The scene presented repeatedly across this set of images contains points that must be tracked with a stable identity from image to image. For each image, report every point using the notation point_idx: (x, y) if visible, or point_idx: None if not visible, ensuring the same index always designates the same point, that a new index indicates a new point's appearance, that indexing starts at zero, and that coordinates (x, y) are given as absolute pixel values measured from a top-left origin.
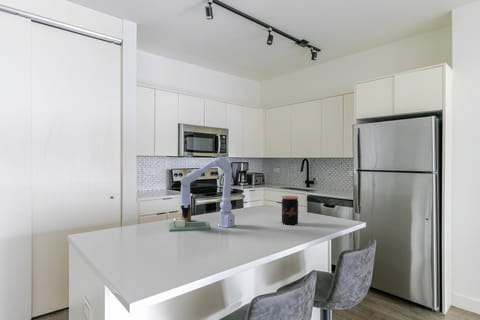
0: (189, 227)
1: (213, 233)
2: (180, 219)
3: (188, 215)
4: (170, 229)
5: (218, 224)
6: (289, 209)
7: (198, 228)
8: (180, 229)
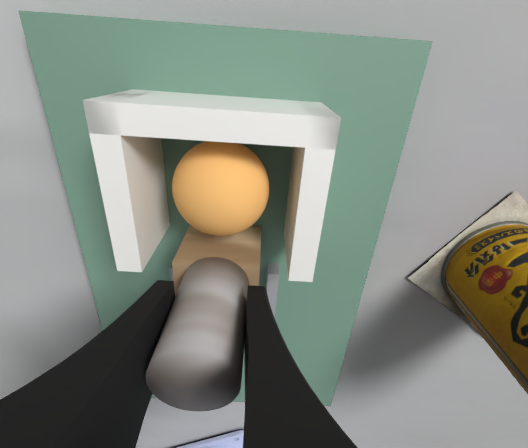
0: None
1: (9, 380)
2: (211, 222)
3: (489, 337)
4: (24, 29)
5: (239, 439)
6: None
7: (103, 325)
8: (64, 169)
